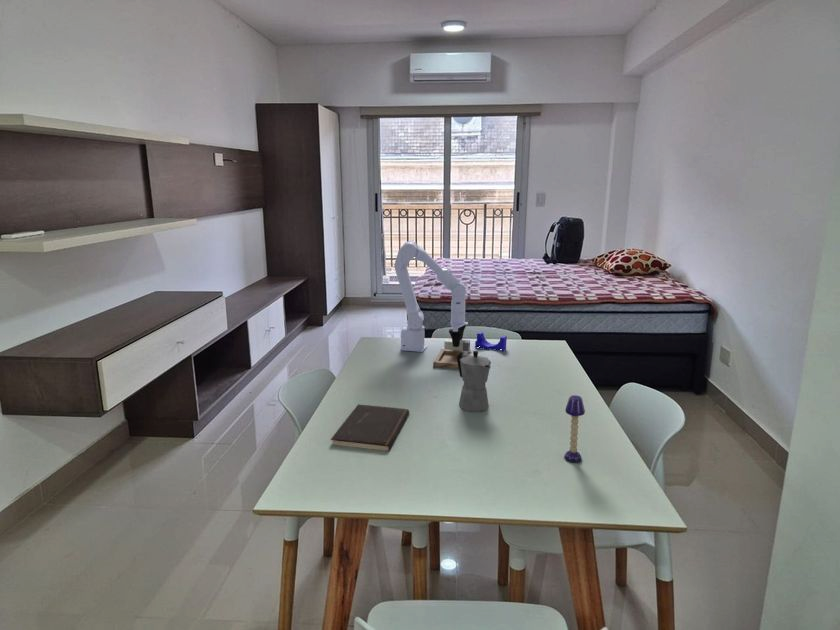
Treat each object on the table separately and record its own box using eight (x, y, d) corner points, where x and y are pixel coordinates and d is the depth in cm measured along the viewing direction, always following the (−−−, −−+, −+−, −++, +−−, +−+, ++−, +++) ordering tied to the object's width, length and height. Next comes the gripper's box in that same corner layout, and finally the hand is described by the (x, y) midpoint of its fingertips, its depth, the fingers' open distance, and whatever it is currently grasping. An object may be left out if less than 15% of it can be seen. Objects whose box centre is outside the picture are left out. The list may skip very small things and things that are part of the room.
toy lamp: (567, 464, 133) (573, 401, 129) (558, 455, 138) (562, 394, 134) (584, 461, 135) (590, 399, 131) (574, 452, 139) (579, 392, 135)
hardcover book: (330, 446, 142) (330, 438, 142) (358, 411, 164) (358, 404, 164) (389, 453, 139) (389, 445, 139) (409, 416, 161) (409, 409, 161)
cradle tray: (433, 367, 201) (433, 362, 201) (441, 353, 216) (441, 349, 216) (462, 369, 199) (462, 364, 198) (468, 356, 214) (468, 351, 213)
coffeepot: (499, 410, 164) (502, 354, 160) (475, 417, 159) (477, 359, 155) (468, 393, 177) (469, 341, 172) (444, 399, 172) (445, 346, 167)
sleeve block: (444, 350, 220) (444, 341, 219) (446, 347, 224) (446, 338, 223) (468, 352, 218) (468, 342, 217) (469, 349, 222) (470, 340, 221)
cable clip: (475, 348, 225) (475, 334, 223) (479, 345, 229) (480, 331, 227) (501, 352, 219) (502, 338, 217) (506, 349, 223) (506, 336, 221)
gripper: (465, 316, 210) (464, 349, 213) (470, 308, 223) (469, 339, 227) (447, 315, 211) (447, 348, 214) (453, 307, 225) (453, 338, 228)
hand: (457, 343), depth 221 cm, fingers open, 7 cm apart
